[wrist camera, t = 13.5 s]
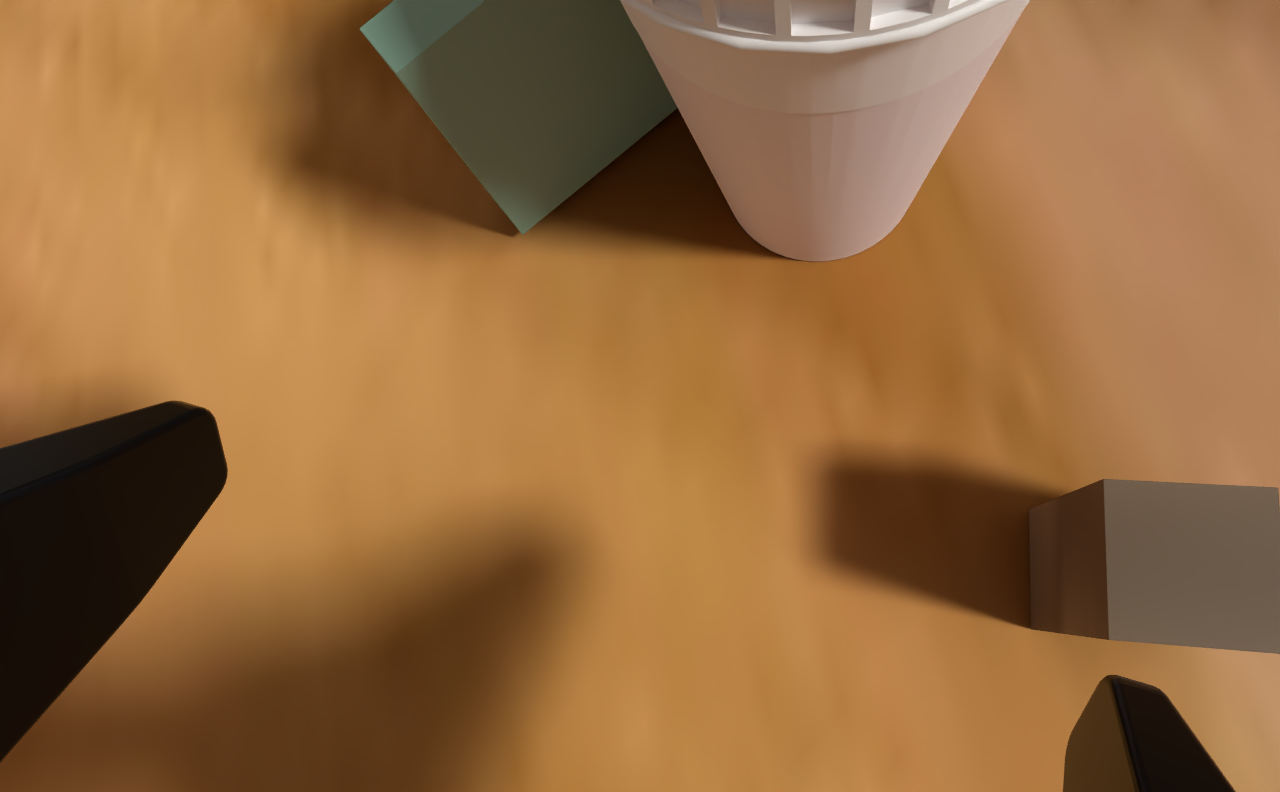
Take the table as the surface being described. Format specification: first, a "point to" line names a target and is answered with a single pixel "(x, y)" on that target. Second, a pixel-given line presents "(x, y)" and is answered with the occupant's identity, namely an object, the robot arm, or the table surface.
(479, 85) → the green block
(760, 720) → the table surface
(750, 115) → the smoothie
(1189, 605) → the brown block
